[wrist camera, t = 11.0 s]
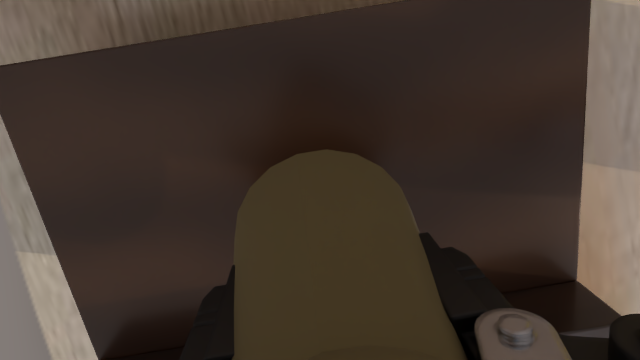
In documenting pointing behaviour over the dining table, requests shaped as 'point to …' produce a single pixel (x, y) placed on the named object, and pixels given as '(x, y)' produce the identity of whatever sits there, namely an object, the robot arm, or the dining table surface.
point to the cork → (334, 267)
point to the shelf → (309, 150)
